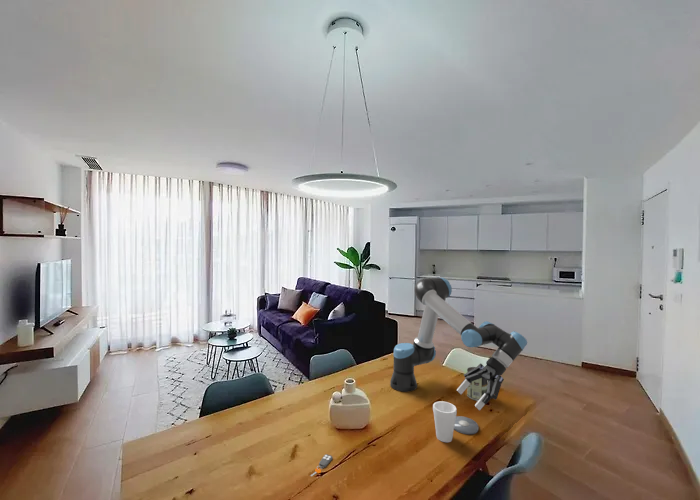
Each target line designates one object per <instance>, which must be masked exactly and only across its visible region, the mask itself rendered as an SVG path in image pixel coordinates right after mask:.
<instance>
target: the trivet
mask: <svg viewBox="0 0 700 500" xmlns="http://www.w3.org/2000/svg"><path fill="white" fill-rule="evenodd" d="M454 431H456V432H458V433H460V434H463V435H475V434H477V433H478V432H479V424H478V423H477V422H476V420H474V419H472V418H470V417H467V416H463V415H460V416H459V415H456V418H455V424H454Z"/></svg>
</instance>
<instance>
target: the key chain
mask: <svg viewBox="0 0 700 500" xmlns="http://www.w3.org/2000/svg"><path fill="white" fill-rule="evenodd" d="M332 460H333V456H332V455H330V454H326V453H325V454H324V455H323V456H322V458H321V460H320V461H319V463H318V465H317V466H316V468H315V469H314V472H313V473H312V474H310V477H313V476H314V475H316V474H321V473H322V470H323V469H324V468H326V467H327V466H328V465H330V463H331V462H332ZM318 467H319V468H318Z"/></svg>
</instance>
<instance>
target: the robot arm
mask: <svg viewBox="0 0 700 500" xmlns="http://www.w3.org/2000/svg"><path fill="white" fill-rule="evenodd" d="M452 292H453V289H452V285H451V282H450V281H449V279H446V278H445V277H431V278H430V277H427V278H422V279H419V280H418V281H417V282H416V283H415V285H414V295H415V296H416V298H417V300H418V301H419V302H420V303H421V304H422V305H424V309H423V313H422V316H421V321H420V325H419V331H418V332H417V333H418V334H417V336H416V337H415V338H414V340H413V342H412V343H413V344H412V343H410V342H402V343H398V344H396V345H395V346H394V348H393V353H392V354H393V372H392V375H391V379H390V380H389V381H390V382H389V385H390V387H391V388H392V389H393V390H395V391H399V392H413V391H415V390H417V388H418V383H417V382H418V381H417V379H416V375H415V366H421V365H424V364H425V365H426V364H428V363H431V362H433V361H434V360H435V358H436V354H437V351H436V350H435V349H436V346H435V344H434V342H433V338H434V335H435V331H436V327H437V323H438V318H439V317H440V318H441V319H442V320H443V321H444V322H445V323H446V324H448V325H449V326H450V328H452V329H453V330H454V331H455V332H456V333H457V334H459V335H460V336H461V337H460V338H461V341H462V343H463V345H465V347H468V348H478V347H481V346H483V345H484V346H485V345H489V344H494V346H497V347H498V348H496V350H495V351H494V352H493V354H492V355H491V356H490V357H489V358H488V359H487V360H486V364H485V366H484V365H483V363H479V364H478V365H477V366H475V367H476V368H474V369H472V370H471V371H469V372H467V371H466V373H463V376H464V380H463V381H462V382H461V384H460V385H459V386H458V387H457V389H456V391H457V392H458V393H459V394H460V395H462V394H464V392H465V391H467V387H468V386H469V385H470V383H471V382H472V381H474V380H477V379H480V378H484V379H486V380H487V393H486V394H487V395H486V394H485V393H484V395H483V396H482V397H481V398H480V399H479V400H478V401H476V403H475V404H474V406H475V408H476V409H477V410H478V411H481V410H482V409H483V407H485V405H487V404H488V403H489V401H490V400H492V399H493V400H495V401H496V400H497V399H498V396H499V393H500V389H501V387H502V384H503V381H504V377H502V376H503V374H504V373H505V372H506V370H507V368H509V367H510V365H511V364H512V363H513V362H514V361H515V360H516V359H517V357H518V356H519V355H520V354H521V353H522V352H523V351H524V349H525V348H526V346H527V345H528V340H527V339H526V337H524V336H523V335H522V334H521V333H520V332H517V331H516V330H513V331H512V332H510V333H509V332H507V331H505V330H503V329H502V328H501V327H499V326H497V325H496V324H494V323H492V322H490V321H487V320H486V321H484V322H482V323H481V324H480V325H479V327H476V325H474V324H473V323H472V322H471V321H469V319H467V318H466V317H465V316H464V315H462V314H461V313H460V312H459V311H457V310H456V309H455V308H454V307H453V306H452V305H450V304H449V303H448V302H447V301H446V299H447V298H449V297H450V296H451V294H452Z"/></svg>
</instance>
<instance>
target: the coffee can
mask: <svg viewBox="0 0 700 500" xmlns="http://www.w3.org/2000/svg"><path fill="white" fill-rule="evenodd" d="M476 367H477V366H472V367H471V366H470V367H467V369H466V373H467V372H469V371H471V370H472V369H474V368H476ZM487 384H488V380H486V379H484V378H480V379H477V380H474V381H472V382H471V383H470V385H469V386H468V387H467V388H466V396H467V397H468V398H469V399H471V400H473V401H476V402H478V400H479V399H480V398H481V397H482V396H483V395H484V393H485V394H486V393H487ZM486 395H487V394H486Z"/></svg>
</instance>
